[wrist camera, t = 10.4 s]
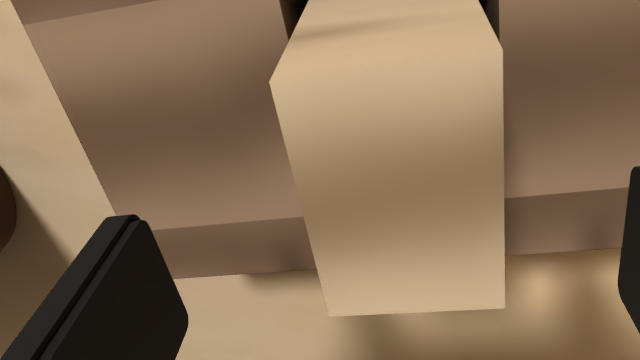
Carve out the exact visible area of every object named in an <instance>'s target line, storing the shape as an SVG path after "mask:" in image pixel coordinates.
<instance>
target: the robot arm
mask: <svg viewBox="0 0 640 360" xmlns="http://www.w3.org/2000/svg"><path fill="white" fill-rule="evenodd" d="M618 289H619V294H620V297H621V299H622V302H623V303H624V305H625V307H626V309H627V311H628V313H629V315H630V317H631V318H632V320H633V322H634V324H635V326H636V328H637V330H638V331H639V333H640V166H636V167H634V168H633V169H632V170H631V174H630V182H629V191H628V199H627V207H626V216H625V224H624V233H623V241H622V249H621V258H620V266H619V275H618ZM187 328H188V314H187V311H186V309H185V306H184V304H183V302H182V299H181V297H180V295H179V292H178V290H177V288H176V286H175V283H174V281H173V279H172V276H171V274H170V272H169V270H168V267H167V265H166V263H165V260H164V258H163V256H162V253H161V251H160V249H159V247H158V244H157V242H156V240H155V237H154V235H153V233H152V230H151V228H150V226H149V224H148V223H147V222H146V221H145V220H141V219H140V218H139V217H138V216H137V215H135V214H130V215H121V216H112V217H107V218H106V219H105V220H104V221H103V222H102V223H101V225H100V226H99V227H98V229H97V230H96V231H95V233H94V234H93V235H92V237H91V238H90V239H89V241H88V242H87V243H86V245H85V246H84V247H83V249H82V250H81V251H80V253H79V254H78V256H77V257H76V258H75V260H74V261H73V262H72V264H71V265H70V266H69V268H68V269H67V270H66V272H65V273H64V274H63V276H62V277H61V278H60V280H59V281H58V282H57V284H56V285H55V286H54V288H53V289H52V290H51V292H50V293H49V294H48V296H47V297H46V298H45V300H44V301H43V302H42V304H41V305H40V306H39V308H38V309H37V310H36V312H35V313H34V315H33V316H32V317H31V319H30V320H29V321H28V323H27V324H26V325H25V327H24V328H23V329H22V331H21V332H20V333H19V335H18V336H17V337H16V339H15V340H14V341H13V343H12V344H11V345H10V347H9V348H8V349H7V351H6V352H5V353H4V355H3V356H2V357H1V359H0V360H175V358H176V356H177V354H178V351H179V349H180V346H181V344H182V341H183V339H184V336H185V334H186V331H187Z"/></svg>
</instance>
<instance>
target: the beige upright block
mask: <svg viewBox="0 0 640 360" xmlns="http://www.w3.org/2000/svg"><path fill="white" fill-rule="evenodd" d="M269 84H270V87H271V91H272V95H273V99H274V103H275V107H276V111H277V115H278V119H279V123H280V127H281V131H282V134H283V138H284V142H285V146H286V150H287V154H288V158H289V162H290V166H291V170H292V174H293V177H294V181H295V185H296V189H297V193H298V197H299V201H300V205H301V209H302V213H303V217H304V221H305V224H306V228H307V232H308V236H309V240H310V244H311V248H312V252H313V256H314V260H315V264H316V267H317V271H318V275H319V279H320V283H321V287H322V291H323V295H324V299H325V303H326V307H327V311H328V314H329V317H334V316H355V315H376V314H397V313H418V312H439V311H460V310H481V309H502V308H505V235H504V122H503V49H502V47H501V45H500V43H499V41H498V39H497V37H496V35H495V33H494V31H493V29H492V27H491V25H490V23H489V21H488V19H487V17H486V15H485V13H484V11H483V9H482V7H481V5H480V3H479V1H478V0H309V1H308V3H307V5H306V7H305V9H304V11H303V13H302V15H301V17H300V19H299V21H298V24H297V26H296V28H295V30H294V32H293V34H292V36H291V38H290V40H289V42H288V44H287V46H286V48H285V50H284V52H283V54H282V56H281V59H280V61H279V63H278V65H277V67H276V69H275V71H274V73H273V75H272V77H271V79H270V81H269Z"/></svg>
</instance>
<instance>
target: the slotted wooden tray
mask: <svg viewBox="0 0 640 360" xmlns="http://www.w3.org/2000/svg"><path fill="white" fill-rule="evenodd" d="M308 1H309V0H11V2H12V4H13V6H14V8H15V10H16V12H17V14H18V16H19V18H20V20H21V22H22V24H23V26H24V28H25V31H26V33H27V35H28V37H29V39H30V41H31V43H32V45H33V47H34V49H35V51H36V53H37V55H38V57H39V59H40V61H41V63H42V65H43V67H44V69H45V71H46V73H47V75H48V77H49V79H50V81H51V83H52V86H53V88H54V90H55V92H56V94H57V96H58V98H59V100H60V102H61V104H62V106H63V108H64V110H65V112H66V114H67V116H68V118H69V120H70V122H71V124H72V126H73V128H74V130H75V132H76V134H77V136H78V138H79V141H80V143H81V145H82V147H83V149H84V151H85V153H86V155H87V157H88V159H89V161H90V163H91V165H92V167H93V169H94V171H95V173H96V175H97V177H98V179H99V181H100V183H101V185H102V187H103V189H104V191H105V193H106V196H107V198H108V200H109V202H110V204H111V206H112V208H113V210H114V212H115V214H116V216H121V215H130V214H135V215H137V216H138V217H139V218H140V219H141V220H145V221H146V222H147V223H148V224H149V226H150V228H151V230H152V233H153V235H154V237H155V240H156V242H157V244H158V247H159V249H160V251H161V253H162V256H163V258H164V260H165V263H166V265H167V267H168V270H169V272H170V274H171V276H172V279H180V278H194V277H209V276H223V275H237V274H252V273H266V272H280V271H295V270H309V269H317V267H316V264H315V260H314V256H313V252H312V248H311V244H310V240H309V236H308V232H307V228H306V224H305V221H304V217H303V213H302V209H301V205H300V201H299V197H298V193H297V189H296V185H295V181H294V177H293V174H292V170H291V166H290V162H289V158H288V154H287V150H286V146H285V142H284V138H283V134H282V131H281V127H280V123H279V119H278V115H277V111H276V107H275V103H274V99H273V95H272V91H271V87H270V84H269V81H270V79H271V77H272V75H273V73H274V71H275V69H276V67H277V65H278V63H279V61H280V59H281V56H282V54H283V52H284V50H285V48H286V46H287V44H288V42H289V40H290V38H291V36H292V34H293V32H294V30H295V28H296V26H297V24H298V21H299V19H300V17H301V15H302V13H303V11H304V9H305V7H306V5H307V3H308ZM478 1H479V3H480V5H481V7H482V9H483V11H484V13H485V15H486V17H487V19H488V21H489V23H490V25H491V27H492V29H493V31H494V33H495V35H496V37H497V39H498V41H499V43H500V45H501V47H502V49H503V122H504V235H505V256H510V255H525V254H539V253H554V252H568V251H582V250H597V249H611V248H622V241H623V233H624V224H625V216H626V207H627V199H628V191H629V182H630V174H631V170H632V169H633V168H634V167H636V166H640V0H478Z"/></svg>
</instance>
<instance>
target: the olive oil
mask: <svg viewBox="0 0 640 360" xmlns="http://www.w3.org/2000/svg"><path fill="white" fill-rule="evenodd" d="M15 223H16V209H15V203H14V199H13V196H12V193H11V191H10V188H9V186H8V184H7V182H6V180H5V178H4V177H3V175H2V173H1V172H0V251H1V250H2V248H3V247H4V246H5V245H6V243H7V242H8V241H9V239H10V237H11V235H12V233H13V231H14V228H15Z"/></svg>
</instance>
